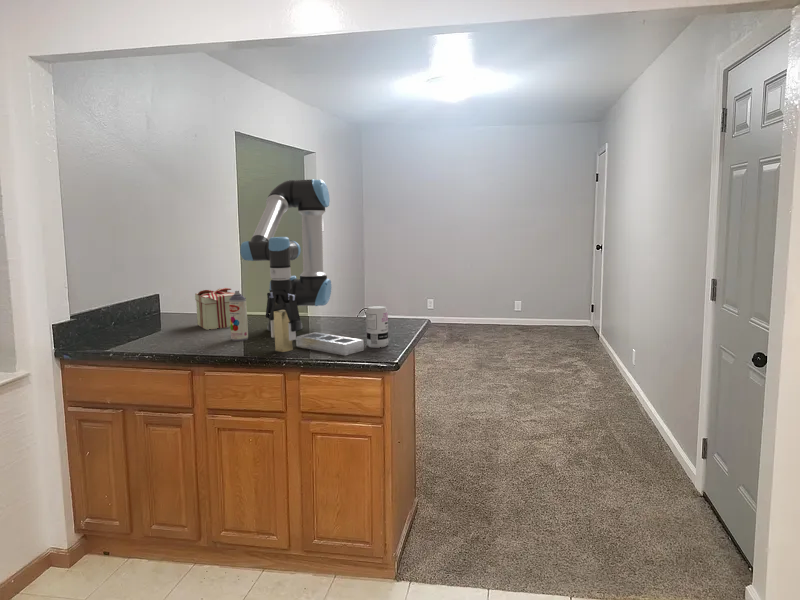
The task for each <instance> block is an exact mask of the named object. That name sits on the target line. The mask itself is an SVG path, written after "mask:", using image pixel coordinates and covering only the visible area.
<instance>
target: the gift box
mask: <svg viewBox="0 0 800 600" xmlns="http://www.w3.org/2000/svg"><path fill="white" fill-rule="evenodd" d="M231 290H232V288H231V287H230V288H228V287H224V288H217V289H216V290H211V289H205V290H204V289H203V290H200V291H198V293H195V294H194V298H195V299H194V300H195V302H196V303H195V304H196V318H197V319H196V320H197V322H196V323H197V326H199V327H200V328H202V329H204V330H206V331H209V329H211V330H218V329H217V328H220V329H228V328H227V327H229V328H231V327H230V310H229V299H230V298H231V297H232V296H233V295H234V294H235V292H233V291H232V292H230V291H231Z"/></svg>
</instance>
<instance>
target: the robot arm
mask: <svg viewBox="0 0 800 600" xmlns="http://www.w3.org/2000/svg"><path fill="white" fill-rule="evenodd" d="M330 202H331V201H330V192H329V187H328V186H327V184H326V182H325V181H324V180H322V179H315V178H313V179H291V180H290V179H289V180H285V181H283V182H281V183H280V184H278V185H277V186H276V187H274V188H273V189H272V190H271V191H270V193H269V194H268V196H267V198H266V201H265V205H266V206H265V208H264V210H263V213H262V215H261V216H260V219H259V221H258V223H257V226H256V228H255V231H254V233H253V235H252V237H251V239H250V240H247V241H246V240H245V241H243V242H241V245H240V247H239V248H240V249H239V251H240V256H241V259H243V260H244V261H247V262H248V261H251V262H260V261H261V262H266V261H269V275H270V281H269V289H268V290H269V292H267V294H266V296H267V299H266V300H267V301H266V309H265V310H266V311H265V318H266V319H268V323H267V331H268V332H270V336H271V338H275V329H274V311H278V310H285V311H286V313H287V316H288V318H289V321H290V322H288V328H289V341H291V340H292V341H296V336H297V333H296V332H298V331H300V330H302V329H303V322H302V320H301V316H300V313H299V311H300V310H299V307H298V306H300V307H308V306H310V307H321V306H326V305H327V304H328V303H329V301H330V299H331V298H330V297H331V295H332V281H331V279H330V278H328V275H327V273H326V272H325V271H324V253H323V252H324V251H323V249H324V247H323V246H324V244H323V215H324V214H325V213H326V208H329V206H330ZM292 208H297V212H298V214H299V215H301V226H302V227H301V234H302V237H301V238H302V247H301V246H300V244H299V243H298V242H297V241H295V240H290V238H289V236H275V234H276V232H277V230H278V227H279V225H280V222H281V221H282V217H283V216H284V214H285V213H286V212H287V211H288V209H292ZM301 248H302V250H301ZM301 251H302V266H303V267H302V268H303V269H302V272H301V273H300V275H299V278H297V276H296V275H292V270H291V261H294V260H296V259H298V258H299V256H300V255H301Z"/></svg>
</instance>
